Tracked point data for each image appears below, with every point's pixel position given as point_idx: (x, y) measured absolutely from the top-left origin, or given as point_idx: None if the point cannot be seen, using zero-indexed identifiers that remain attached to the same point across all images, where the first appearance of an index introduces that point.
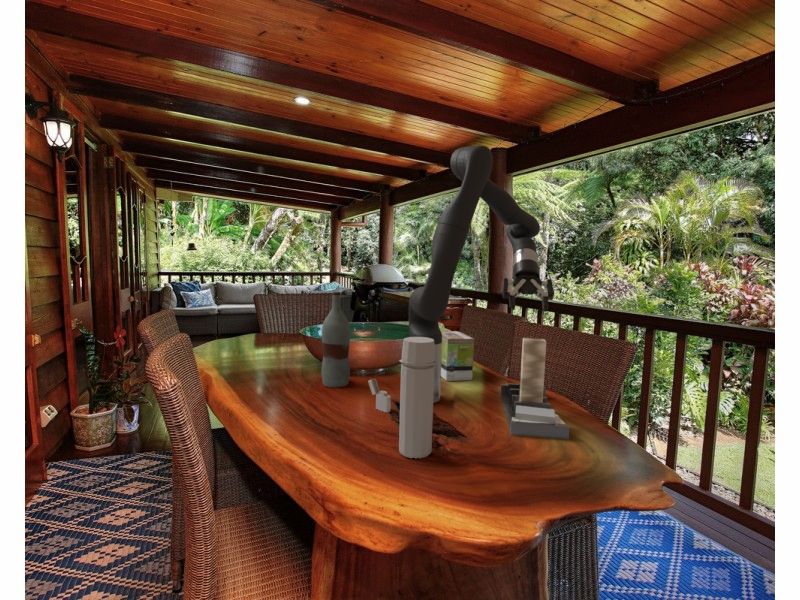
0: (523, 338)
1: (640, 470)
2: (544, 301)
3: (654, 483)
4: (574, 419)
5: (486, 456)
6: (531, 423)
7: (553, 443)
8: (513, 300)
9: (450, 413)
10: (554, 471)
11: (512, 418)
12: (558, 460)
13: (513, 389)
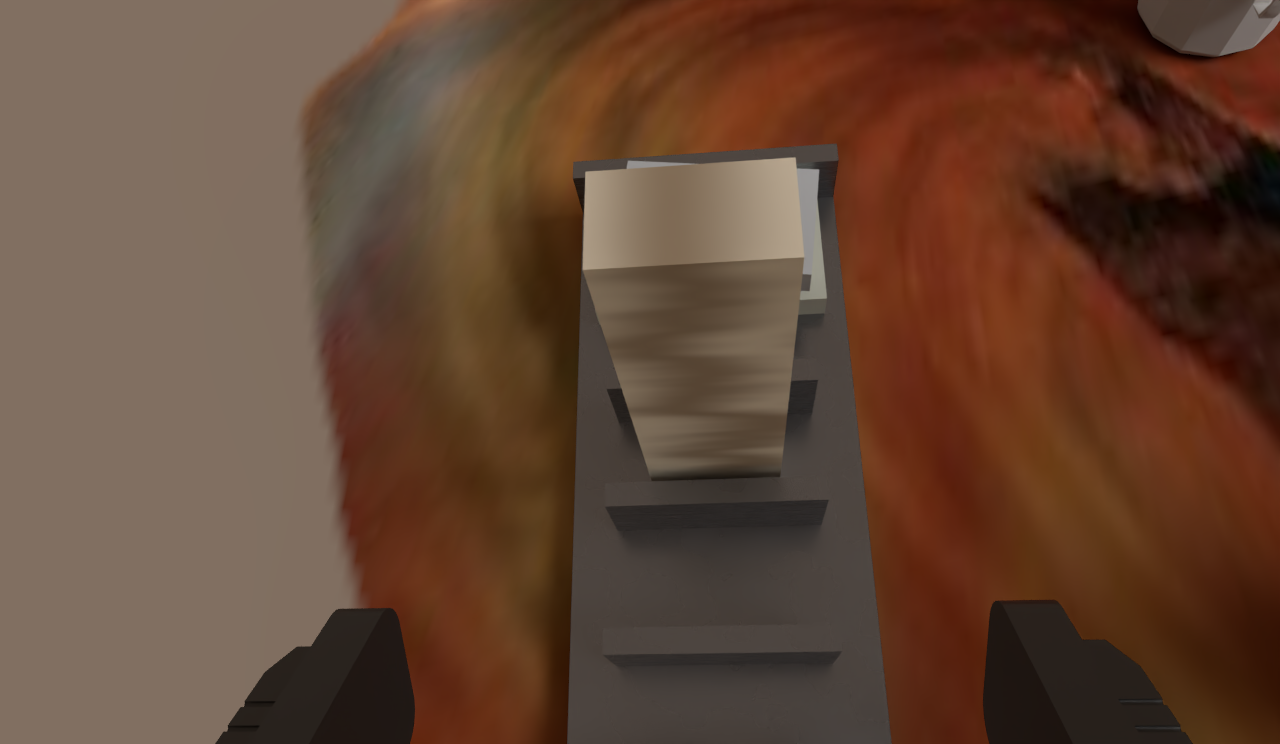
0: (797, 239)
1: (392, 92)
2: (314, 693)
3: (391, 29)
4: (464, 536)
5: (920, 57)
6: (741, 156)
7: None
8: (1089, 690)
9: (1184, 466)
10: (684, 21)
11: (824, 282)
12: (655, 91)
13: (816, 629)
